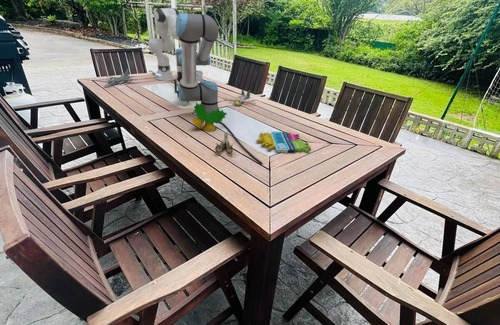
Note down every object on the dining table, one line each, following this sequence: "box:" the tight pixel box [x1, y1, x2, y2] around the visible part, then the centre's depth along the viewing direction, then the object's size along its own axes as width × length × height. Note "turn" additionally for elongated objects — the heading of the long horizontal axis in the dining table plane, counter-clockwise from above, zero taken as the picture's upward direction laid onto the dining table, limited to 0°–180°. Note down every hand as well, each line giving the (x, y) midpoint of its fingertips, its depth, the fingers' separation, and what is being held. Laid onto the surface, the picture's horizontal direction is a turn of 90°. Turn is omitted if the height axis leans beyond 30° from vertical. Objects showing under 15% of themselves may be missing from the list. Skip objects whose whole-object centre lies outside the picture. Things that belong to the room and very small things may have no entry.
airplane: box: [102, 68, 138, 88], centre depth 247 cm, size 38×31×10 cm
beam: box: [178, 96, 189, 106], centre depth 224 cm, size 59×6×8 cm, turn 4°
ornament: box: [191, 101, 228, 132], centre depth 162 cm, size 21×8×15 cm, turn 105°
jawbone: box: [214, 131, 234, 156], centre depth 136 cm, size 9×15×10 cm
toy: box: [223, 89, 257, 106], centre depth 219 cm, size 28×7×30 cm
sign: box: [256, 131, 312, 154], centre depth 152 cm, size 26×2×30 cm
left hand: (191, 85), depth 245 cm, fingers closed on beam, 5 cm apart
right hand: (184, 101), depth 205 cm, fingers closed on beam, 6 cm apart
